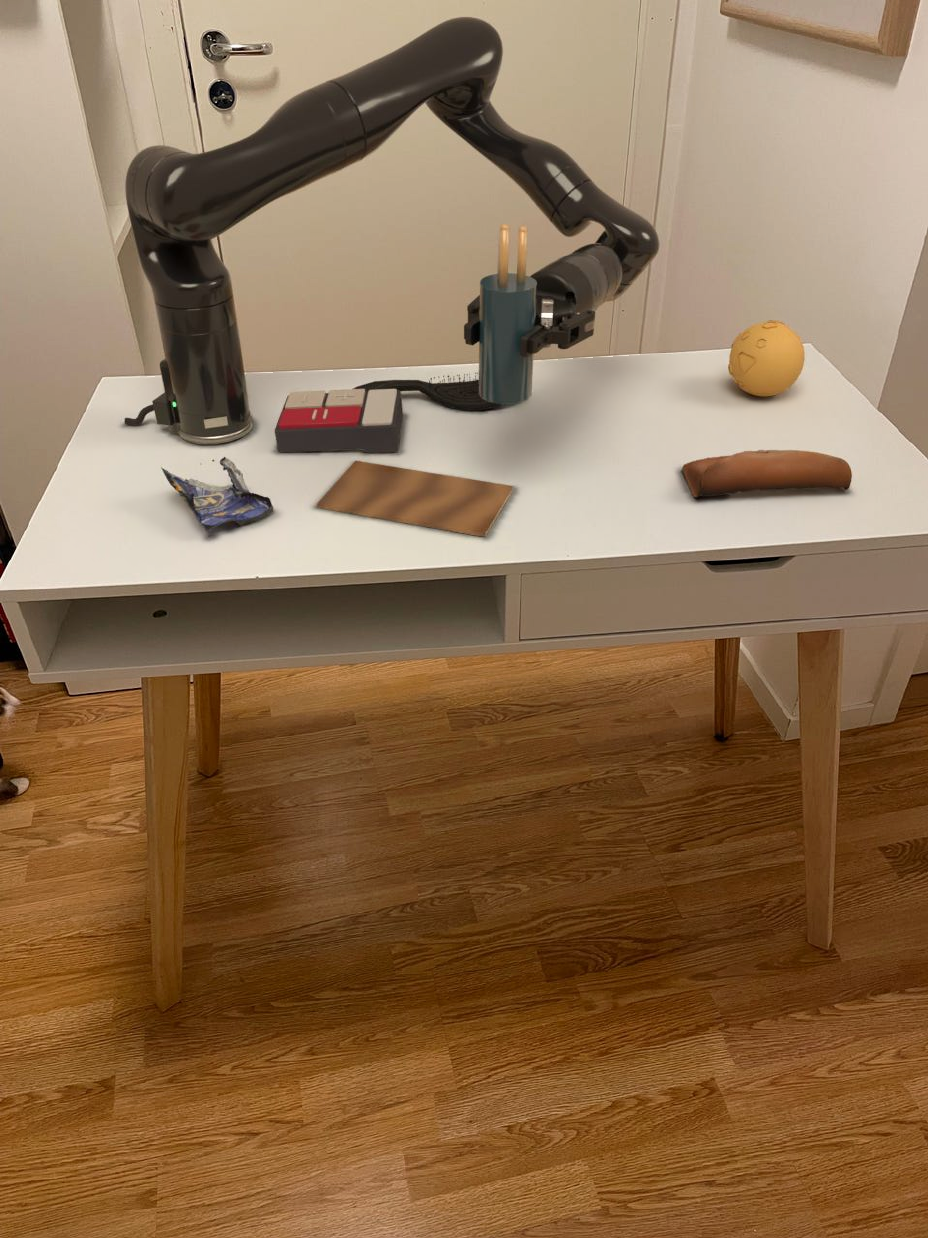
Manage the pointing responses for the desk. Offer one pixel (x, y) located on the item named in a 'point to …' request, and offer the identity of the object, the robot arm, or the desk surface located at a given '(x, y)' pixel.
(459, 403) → the hairbrush
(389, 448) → the calculator
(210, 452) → the desk surface
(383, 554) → the desk surface
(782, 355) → the stress ball
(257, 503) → the snack package
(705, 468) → the sunglasses case
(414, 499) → the brown wooden board
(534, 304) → the cutlery holder
